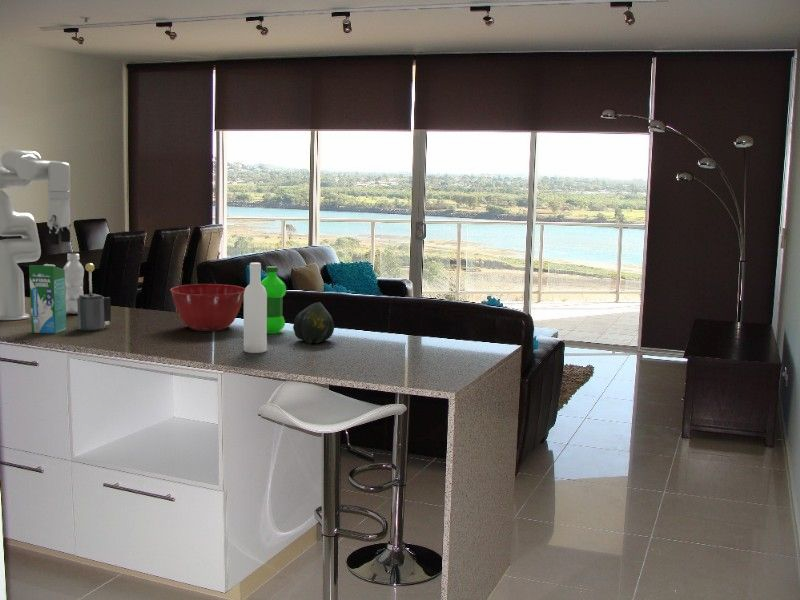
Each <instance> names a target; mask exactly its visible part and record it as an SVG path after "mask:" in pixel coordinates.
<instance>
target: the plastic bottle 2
mask: <svg viewBox="0 0 800 600" xmlns="http://www.w3.org/2000/svg"><path fill="white" fill-rule="evenodd" d="M265 268H266V272H267V276H266V277H265V278H263V279H262V280H261V284H262V285H263V286H264V287H265V290H266V293H267V334H273V335H274V334H278V333H280V332H281V331H282V330H283V329H284V328H285V325H286V320H285V317H284V316H283V314H284V313H283V310H284V309H283V303H284V300H283V297H285V295H286V293H287V286H286V283H285V282H284V281H283V280H282V279H281V278H280V277H278V276H277V273H278V272H279V267H278V266H275V265H274V266H272V265H271V266H266V267H265Z"/></svg>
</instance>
